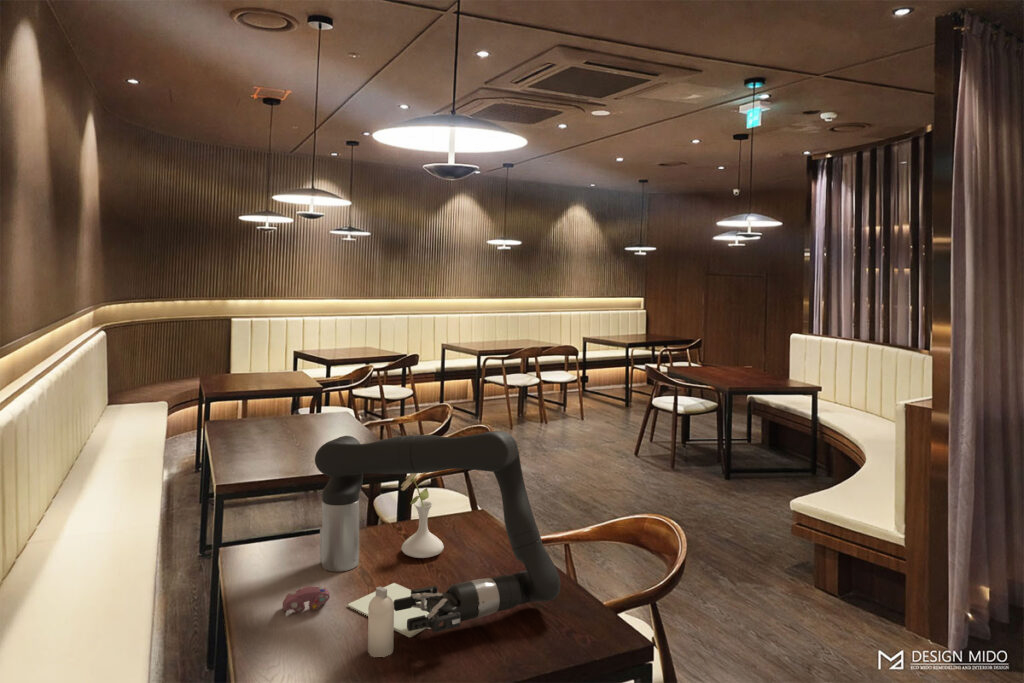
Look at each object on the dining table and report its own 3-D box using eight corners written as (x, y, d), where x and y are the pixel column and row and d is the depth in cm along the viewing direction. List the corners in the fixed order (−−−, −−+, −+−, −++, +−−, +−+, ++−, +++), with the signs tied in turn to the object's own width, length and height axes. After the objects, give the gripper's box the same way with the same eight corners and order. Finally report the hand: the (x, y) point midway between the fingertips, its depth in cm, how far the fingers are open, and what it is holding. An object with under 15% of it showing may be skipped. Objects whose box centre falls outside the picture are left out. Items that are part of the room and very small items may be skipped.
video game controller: (283, 622, 143) (286, 601, 140) (280, 605, 147) (283, 584, 143) (329, 613, 148) (332, 592, 145) (325, 596, 151) (328, 576, 148)
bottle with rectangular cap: (362, 651, 130) (363, 589, 129) (381, 641, 134) (382, 580, 133) (379, 660, 127) (380, 597, 126) (398, 649, 131) (399, 588, 130)
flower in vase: (421, 541, 186) (423, 455, 184) (452, 552, 179) (454, 462, 177) (387, 556, 175) (389, 465, 173) (418, 568, 169) (420, 473, 166)
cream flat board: (347, 606, 148) (347, 604, 148) (393, 585, 159) (393, 582, 159) (409, 637, 136) (409, 635, 136) (455, 611, 147) (455, 609, 147)
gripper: (460, 568, 146) (390, 582, 138) (488, 597, 133) (412, 613, 126) (459, 601, 146) (389, 616, 139) (487, 632, 134) (412, 651, 126)
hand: (400, 615), depth 132 cm, fingers open, 8 cm apart
